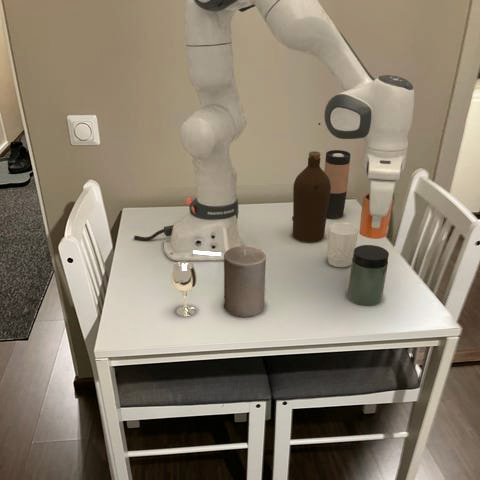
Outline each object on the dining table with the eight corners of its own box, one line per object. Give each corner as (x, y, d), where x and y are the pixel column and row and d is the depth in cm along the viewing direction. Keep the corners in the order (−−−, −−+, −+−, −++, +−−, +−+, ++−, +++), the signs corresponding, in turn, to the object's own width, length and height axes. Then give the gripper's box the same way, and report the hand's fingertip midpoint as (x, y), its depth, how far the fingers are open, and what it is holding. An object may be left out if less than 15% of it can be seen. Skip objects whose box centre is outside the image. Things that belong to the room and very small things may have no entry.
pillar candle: (215, 307, 131) (214, 250, 123) (242, 292, 138) (242, 236, 129) (247, 322, 126) (248, 263, 118) (273, 305, 132) (275, 248, 124)
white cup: (353, 270, 148) (358, 235, 142) (324, 267, 149) (327, 233, 143) (354, 257, 154) (359, 223, 149) (326, 254, 155) (329, 221, 150)
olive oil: (333, 238, 165) (342, 154, 151) (306, 247, 159) (313, 161, 146) (309, 226, 172) (315, 145, 158) (283, 234, 167) (287, 151, 153)
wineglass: (178, 319, 127) (174, 273, 120) (170, 307, 131) (167, 262, 125) (201, 314, 129) (199, 269, 122) (193, 302, 133) (191, 258, 127)
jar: (355, 307, 132) (361, 264, 125) (342, 290, 138) (347, 248, 132) (387, 303, 133) (395, 260, 127) (373, 286, 140) (379, 245, 134)
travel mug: (317, 210, 182) (323, 150, 171) (340, 210, 183) (347, 149, 172) (323, 220, 176) (329, 157, 165) (346, 219, 177) (354, 156, 166)
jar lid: (361, 269, 126) (362, 261, 125) (347, 254, 133) (348, 246, 132) (393, 265, 128) (394, 258, 127) (378, 250, 134) (379, 243, 133)
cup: (365, 240, 123) (370, 203, 119) (354, 228, 129) (359, 193, 124) (391, 237, 125) (397, 201, 120) (379, 226, 130) (385, 191, 125)
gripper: (369, 145, 126) (362, 202, 134) (368, 173, 110) (360, 237, 117) (398, 146, 125) (389, 204, 133) (400, 175, 108) (390, 239, 116)
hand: (375, 220), depth 125 cm, fingers closed on cup, 6 cm apart
